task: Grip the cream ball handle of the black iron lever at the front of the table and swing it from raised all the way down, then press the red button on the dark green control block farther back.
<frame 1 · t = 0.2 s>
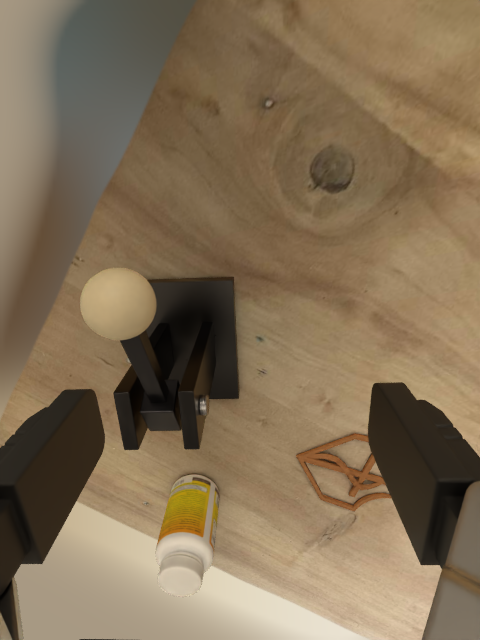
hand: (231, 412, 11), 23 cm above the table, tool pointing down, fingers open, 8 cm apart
supplement bottle: (196, 489, 42), on the table
bracket: (189, 339, 35), on the table
emblem: (347, 468, 40), on the table
lever: (145, 362, 21), point 13 cm above the table, hinge at 28.0°
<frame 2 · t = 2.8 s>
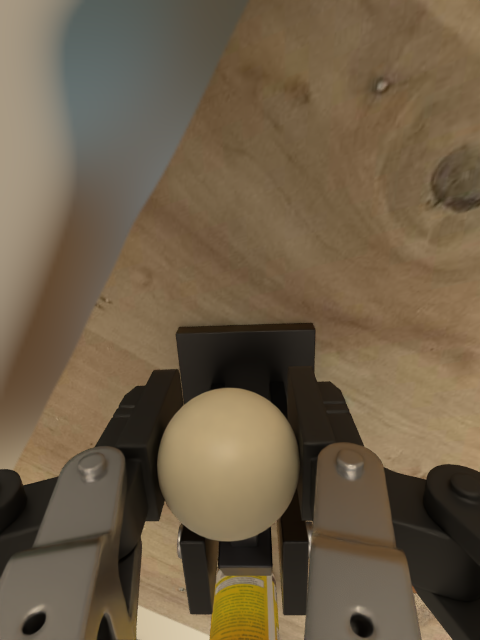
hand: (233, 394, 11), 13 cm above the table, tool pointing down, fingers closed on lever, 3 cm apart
supplement bottle: (245, 574, 34), on the table
bracket: (248, 400, 27), on the table
lever: (240, 510, 12), point 13 cm above the table, hinge at 28.0°, touching gripper
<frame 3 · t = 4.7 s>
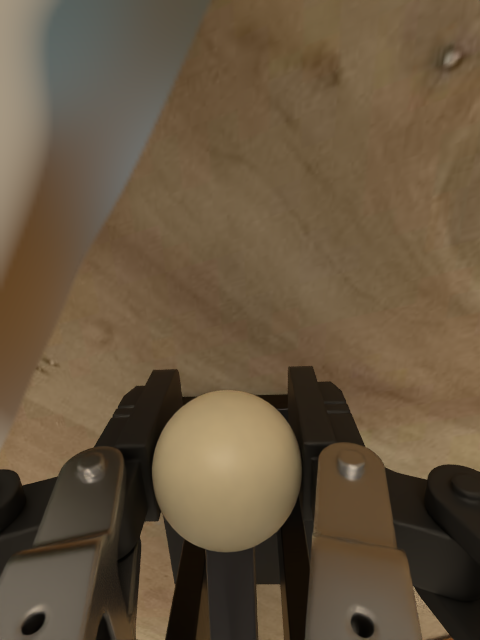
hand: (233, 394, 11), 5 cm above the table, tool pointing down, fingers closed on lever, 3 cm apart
bracket: (247, 488, 20), on the table
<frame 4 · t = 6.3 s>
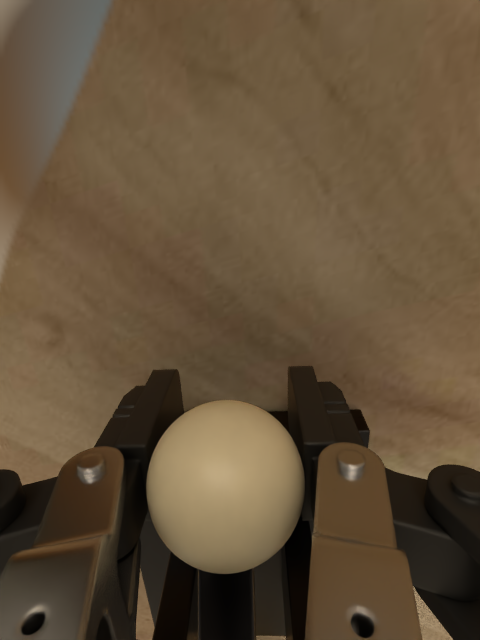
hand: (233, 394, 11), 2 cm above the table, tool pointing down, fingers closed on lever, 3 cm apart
bracket: (245, 524, 16), on the table
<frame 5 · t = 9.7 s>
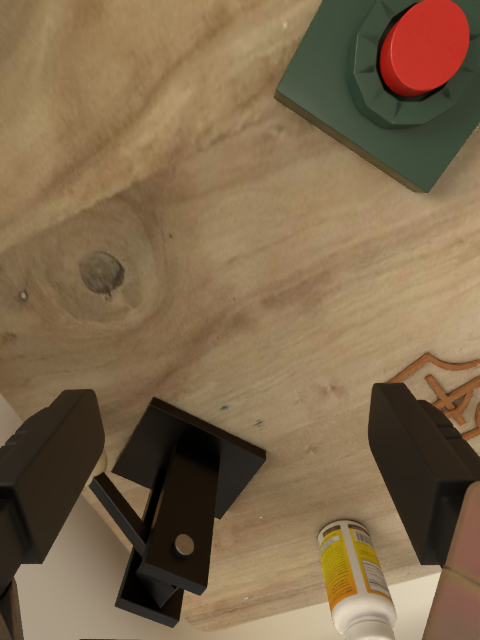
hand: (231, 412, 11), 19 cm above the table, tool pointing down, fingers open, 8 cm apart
supplement bottle: (342, 534, 39), on the table
bracket: (189, 457, 36), on the table
control block: (391, 73, 24), on the table
emblem: (425, 409, 33), on the table
button: (422, 51, 20), point 4 cm above the table, slide at 0.1 cm
lever: (121, 511, 27), point 8 cm above the table, hinge at -32.5°
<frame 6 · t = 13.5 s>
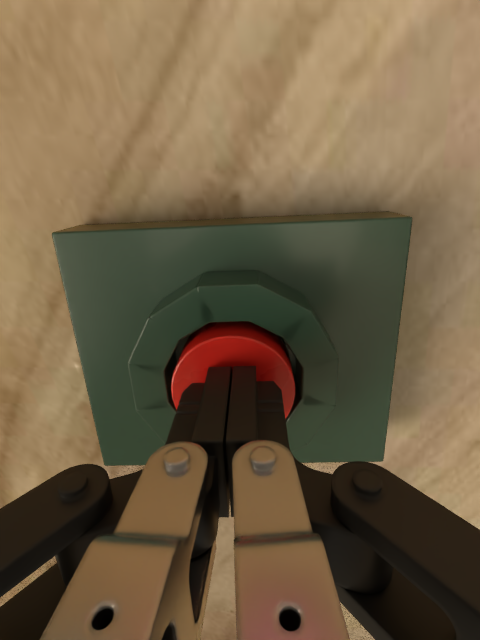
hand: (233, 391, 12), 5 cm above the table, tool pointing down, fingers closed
control block: (237, 336, 16), on the table
button: (234, 379, 12), point 4 cm above the table, slide at -0.8 cm, touching gripper
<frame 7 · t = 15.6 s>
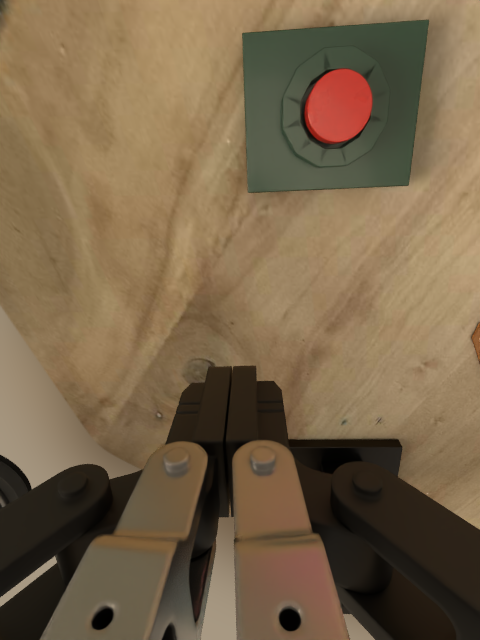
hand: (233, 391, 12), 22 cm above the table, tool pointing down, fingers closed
bracket: (338, 471, 41), on the table
control block: (325, 117, 27), on the table
button: (337, 108, 23), point 4 cm above the table, slide at 0.1 cm
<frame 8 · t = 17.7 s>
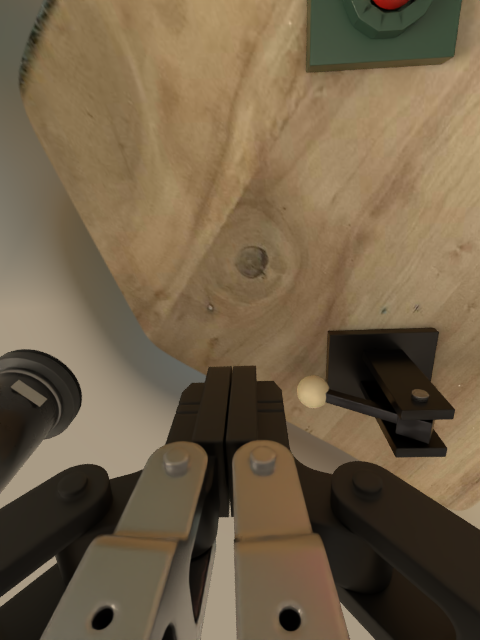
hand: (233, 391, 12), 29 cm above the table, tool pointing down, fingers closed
bracket: (377, 364, 43), on the table
lever: (359, 404, 36), point 8 cm above the table, hinge at -32.5°
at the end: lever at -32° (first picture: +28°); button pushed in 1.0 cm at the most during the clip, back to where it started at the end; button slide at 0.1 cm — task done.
